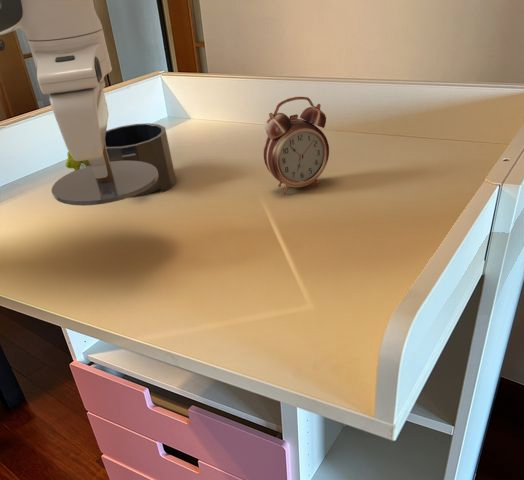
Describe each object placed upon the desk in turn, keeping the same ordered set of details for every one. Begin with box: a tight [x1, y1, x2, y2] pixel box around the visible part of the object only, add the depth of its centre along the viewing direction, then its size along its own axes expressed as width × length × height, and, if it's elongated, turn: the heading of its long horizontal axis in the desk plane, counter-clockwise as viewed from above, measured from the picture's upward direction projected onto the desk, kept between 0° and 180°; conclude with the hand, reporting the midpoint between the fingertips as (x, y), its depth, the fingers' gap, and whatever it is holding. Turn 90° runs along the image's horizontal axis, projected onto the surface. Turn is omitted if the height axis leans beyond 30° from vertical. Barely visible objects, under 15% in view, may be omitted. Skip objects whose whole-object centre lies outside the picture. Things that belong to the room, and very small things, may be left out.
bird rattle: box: [65, 150, 91, 171], centre depth 118 cm, size 6×11×9 cm
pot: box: [105, 122, 177, 199], centre depth 105 cm, size 14×19×10 cm
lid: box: [51, 145, 158, 207], centre depth 77 cm, size 15×15×6 cm
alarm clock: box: [263, 96, 330, 195], centre depth 95 cm, size 11×5×15 cm, turn 112°
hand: (102, 171), depth 77 cm, fingers closed on lid, 2 cm apart
